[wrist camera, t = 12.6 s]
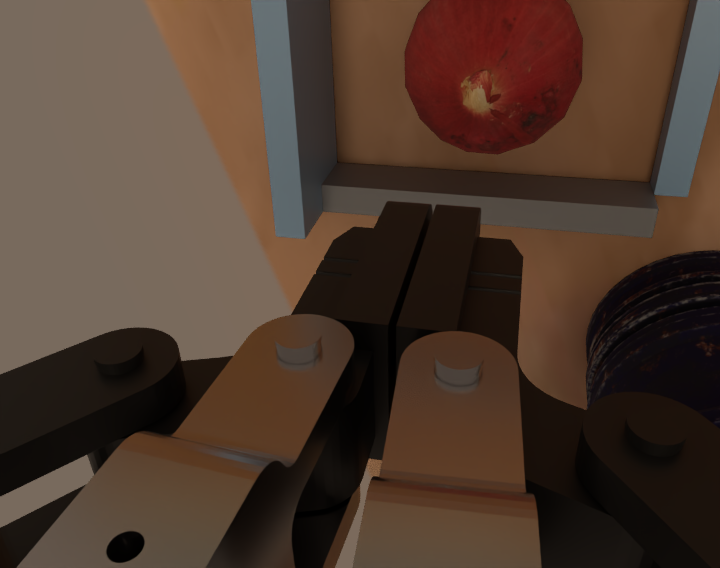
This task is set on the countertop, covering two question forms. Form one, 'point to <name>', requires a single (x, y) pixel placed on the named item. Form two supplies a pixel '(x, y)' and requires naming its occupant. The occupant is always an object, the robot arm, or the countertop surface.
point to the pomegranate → (493, 70)
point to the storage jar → (660, 334)
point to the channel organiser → (454, 187)
